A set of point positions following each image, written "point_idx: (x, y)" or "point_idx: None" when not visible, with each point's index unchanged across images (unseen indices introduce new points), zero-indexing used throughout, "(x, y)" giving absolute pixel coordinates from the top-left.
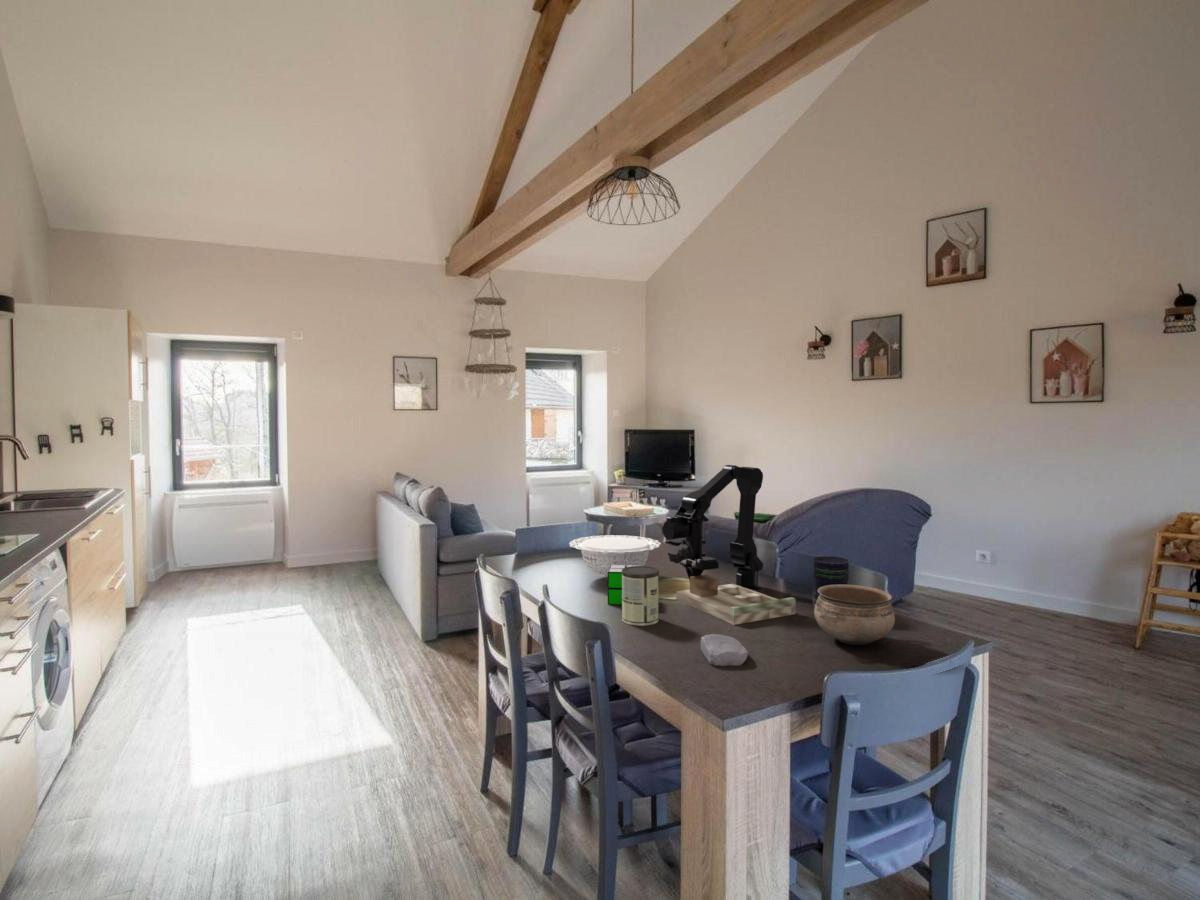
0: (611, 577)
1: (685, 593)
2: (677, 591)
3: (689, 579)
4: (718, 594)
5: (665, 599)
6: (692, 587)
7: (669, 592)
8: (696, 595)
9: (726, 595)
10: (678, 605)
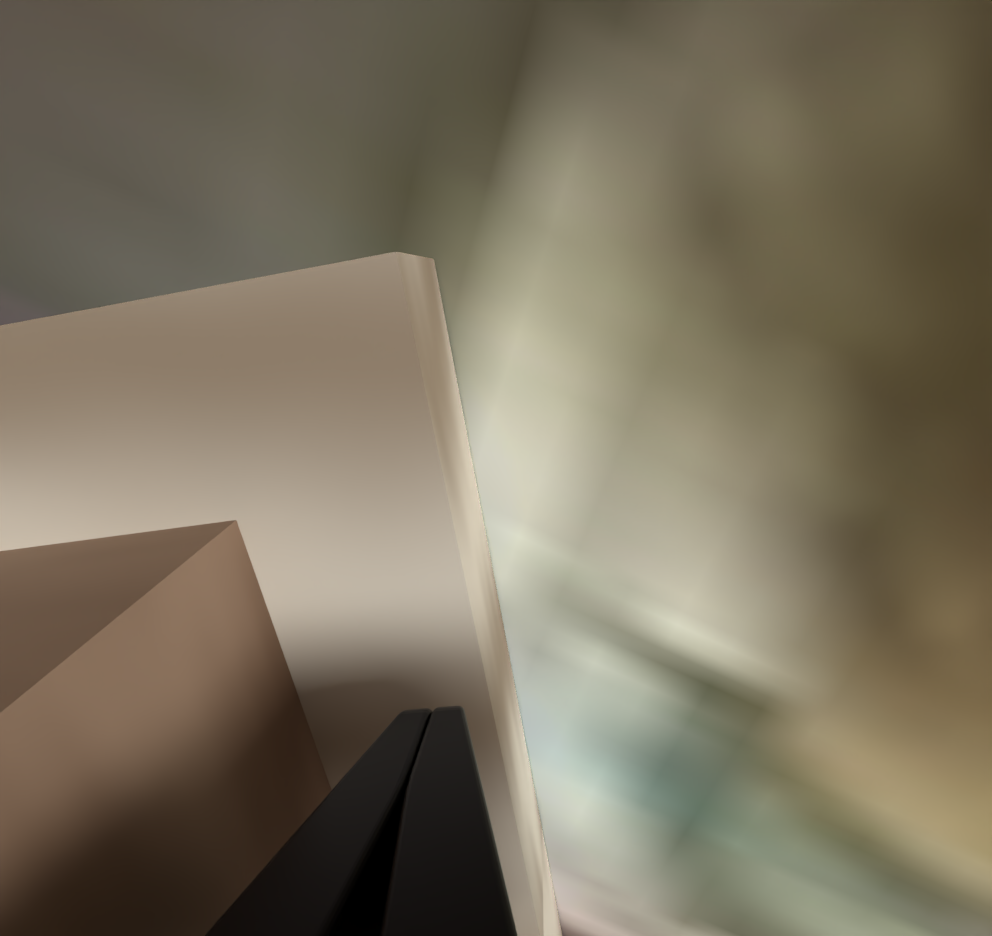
0: None
1: (187, 405)
2: (398, 296)
3: (460, 836)
4: None
5: (514, 31)
6: (20, 611)
7: (962, 361)
8: (10, 548)
9: None
10: (47, 130)
